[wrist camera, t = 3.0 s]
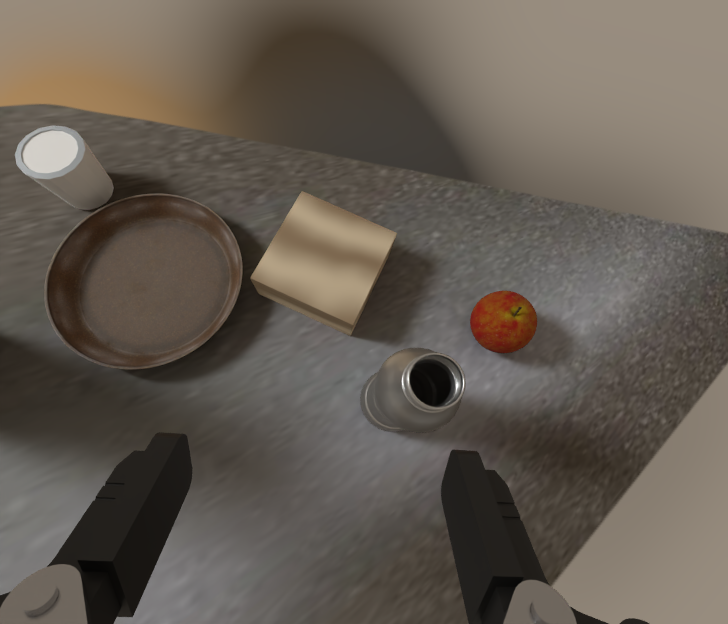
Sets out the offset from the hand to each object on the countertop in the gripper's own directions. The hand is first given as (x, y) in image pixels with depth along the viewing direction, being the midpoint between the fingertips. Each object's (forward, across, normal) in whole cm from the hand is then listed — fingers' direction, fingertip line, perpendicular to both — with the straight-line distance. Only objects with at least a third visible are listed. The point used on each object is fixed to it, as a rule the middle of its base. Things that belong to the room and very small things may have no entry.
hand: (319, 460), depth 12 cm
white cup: (+41, +32, +2) cm, 52 cm away
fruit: (+31, -19, +12) cm, 39 cm away
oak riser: (+35, +2, +8) cm, 36 cm away
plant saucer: (+33, +21, +11) cm, 41 cm away
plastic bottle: (+25, -6, +19) cm, 32 cm away
